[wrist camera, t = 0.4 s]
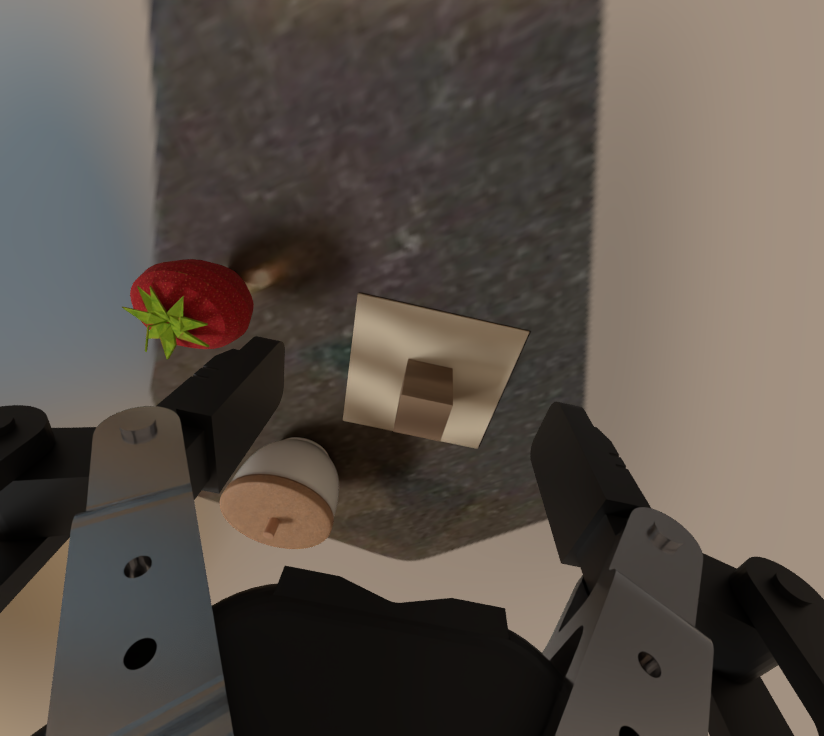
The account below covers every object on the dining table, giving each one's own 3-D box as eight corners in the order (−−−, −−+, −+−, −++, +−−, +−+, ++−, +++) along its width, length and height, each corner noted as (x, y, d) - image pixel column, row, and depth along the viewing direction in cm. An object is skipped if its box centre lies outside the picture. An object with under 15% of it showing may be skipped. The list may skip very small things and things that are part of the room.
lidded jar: (366, 448, 39) (344, 530, 31) (328, 498, 45) (303, 577, 37) (271, 405, 37) (223, 482, 29) (245, 463, 42) (198, 540, 35)
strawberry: (282, 318, 31) (220, 391, 22) (194, 302, 31) (99, 370, 22) (277, 248, 27) (201, 305, 19) (178, 230, 27) (59, 280, 19)
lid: (360, 289, 29) (342, 323, 24) (527, 327, 30) (542, 367, 25) (344, 415, 37) (329, 458, 32) (477, 442, 38) (480, 489, 33)
